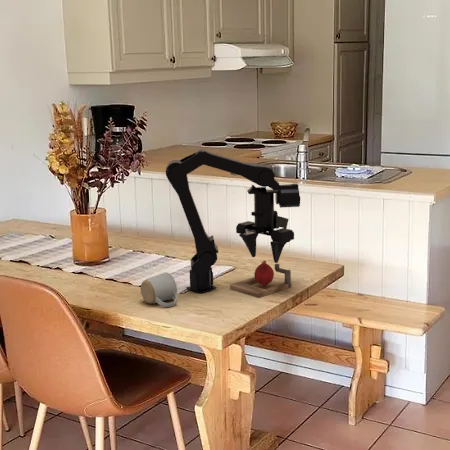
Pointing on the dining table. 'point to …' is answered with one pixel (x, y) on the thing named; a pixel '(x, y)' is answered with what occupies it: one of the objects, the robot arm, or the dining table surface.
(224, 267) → the dining table surface
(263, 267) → the onion
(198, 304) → the dining table surface
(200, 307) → the dining table surface
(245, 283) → the walnut board
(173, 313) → the dining table surface
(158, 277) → the ceramic mug
